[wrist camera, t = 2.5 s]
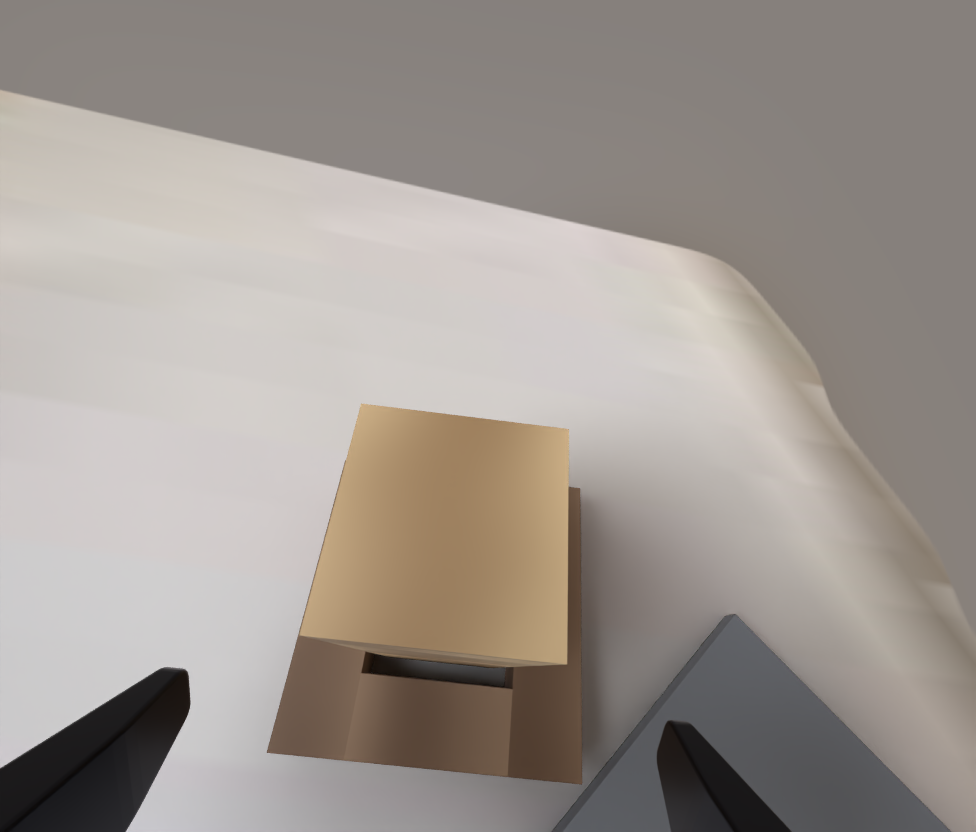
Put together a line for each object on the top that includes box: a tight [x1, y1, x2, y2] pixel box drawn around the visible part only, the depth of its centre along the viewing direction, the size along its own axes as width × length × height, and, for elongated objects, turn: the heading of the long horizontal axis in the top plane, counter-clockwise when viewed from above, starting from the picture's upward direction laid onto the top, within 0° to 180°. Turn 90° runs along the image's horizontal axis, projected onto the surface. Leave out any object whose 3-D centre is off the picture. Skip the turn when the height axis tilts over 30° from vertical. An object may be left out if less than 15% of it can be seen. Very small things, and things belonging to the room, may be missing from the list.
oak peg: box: [299, 404, 569, 668], centre depth 13 cm, size 4×4×13 cm
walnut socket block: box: [267, 460, 582, 784], centre depth 18 cm, size 10×10×2 cm
